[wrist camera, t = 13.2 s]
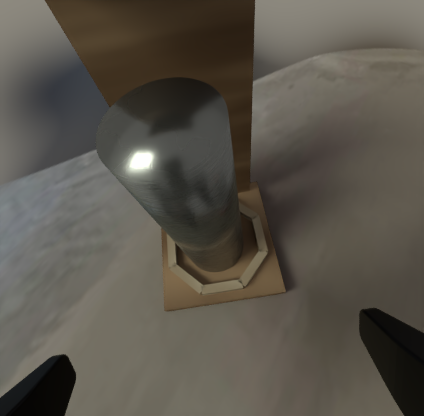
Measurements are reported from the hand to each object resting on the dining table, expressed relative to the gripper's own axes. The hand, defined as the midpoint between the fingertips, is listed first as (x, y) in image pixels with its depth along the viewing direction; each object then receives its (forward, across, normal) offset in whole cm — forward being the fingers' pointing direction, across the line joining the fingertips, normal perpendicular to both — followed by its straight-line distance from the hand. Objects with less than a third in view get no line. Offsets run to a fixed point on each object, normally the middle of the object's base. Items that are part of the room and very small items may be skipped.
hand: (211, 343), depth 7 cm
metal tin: (+11, 0, +2) cm, 12 cm away
